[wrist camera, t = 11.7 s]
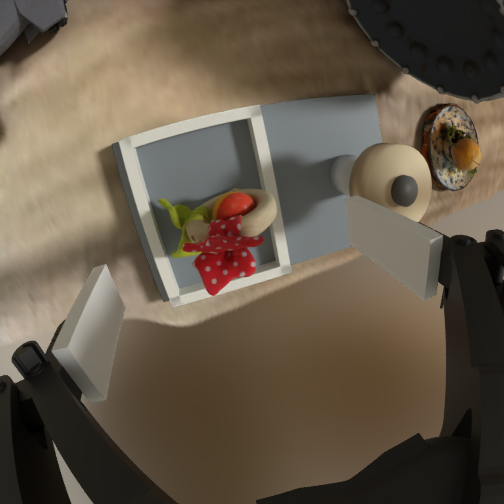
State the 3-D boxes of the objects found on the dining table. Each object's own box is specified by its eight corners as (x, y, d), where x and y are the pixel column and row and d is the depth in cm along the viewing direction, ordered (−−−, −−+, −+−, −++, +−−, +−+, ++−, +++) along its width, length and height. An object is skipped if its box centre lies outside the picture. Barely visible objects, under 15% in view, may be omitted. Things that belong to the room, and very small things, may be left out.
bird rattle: (216, 162, 27) (133, 212, 23) (298, 147, 18) (179, 219, 14) (243, 219, 30) (169, 271, 26) (328, 229, 21) (232, 311, 17)
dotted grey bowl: (417, 111, 28) (565, 127, 10) (296, -14, 20) (417, -113, 2) (447, 65, 27) (572, 65, 9) (346, -48, 19) (454, -115, 1)
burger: (472, 180, 34) (510, 191, 28) (424, 198, 33) (466, 214, 26) (464, 101, 29) (504, 104, 23) (412, 106, 28) (457, 106, 21)
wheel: (343, 148, 21) (366, 151, 18) (409, 139, 22) (434, 142, 19) (353, 233, 24) (374, 246, 21) (413, 214, 24) (436, 224, 22)
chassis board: (114, 144, 23) (102, 144, 20) (369, 95, 26) (392, 92, 23) (163, 297, 30) (162, 318, 26) (383, 231, 33) (404, 242, 29)
